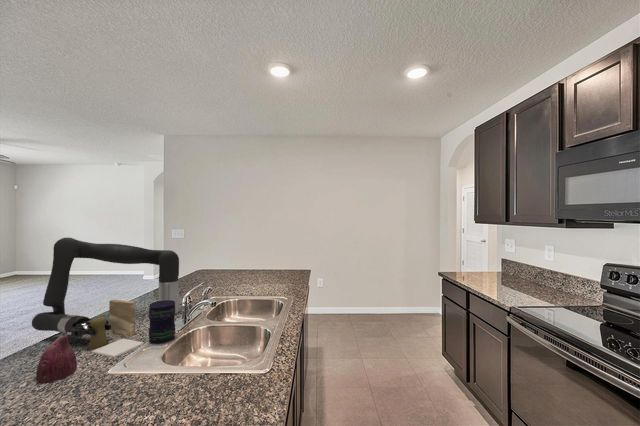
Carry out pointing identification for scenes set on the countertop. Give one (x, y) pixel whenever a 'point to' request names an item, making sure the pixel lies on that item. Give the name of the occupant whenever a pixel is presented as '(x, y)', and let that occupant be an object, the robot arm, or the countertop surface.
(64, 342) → the vegetable
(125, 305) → the maple board
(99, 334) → the cork
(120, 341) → the coaster
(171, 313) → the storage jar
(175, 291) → the robot arm
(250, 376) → the countertop surface
